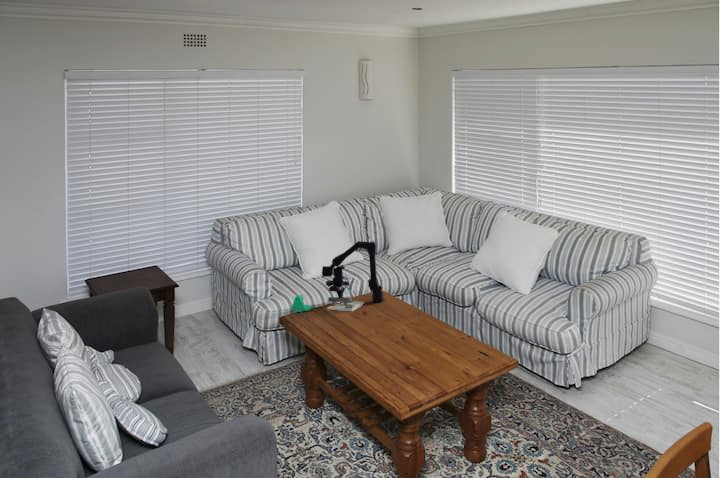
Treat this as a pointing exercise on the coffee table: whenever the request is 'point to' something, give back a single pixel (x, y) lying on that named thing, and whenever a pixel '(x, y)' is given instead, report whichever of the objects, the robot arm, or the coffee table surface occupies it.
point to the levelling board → (342, 307)
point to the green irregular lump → (300, 304)
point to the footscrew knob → (340, 299)
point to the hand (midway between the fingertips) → (340, 298)
